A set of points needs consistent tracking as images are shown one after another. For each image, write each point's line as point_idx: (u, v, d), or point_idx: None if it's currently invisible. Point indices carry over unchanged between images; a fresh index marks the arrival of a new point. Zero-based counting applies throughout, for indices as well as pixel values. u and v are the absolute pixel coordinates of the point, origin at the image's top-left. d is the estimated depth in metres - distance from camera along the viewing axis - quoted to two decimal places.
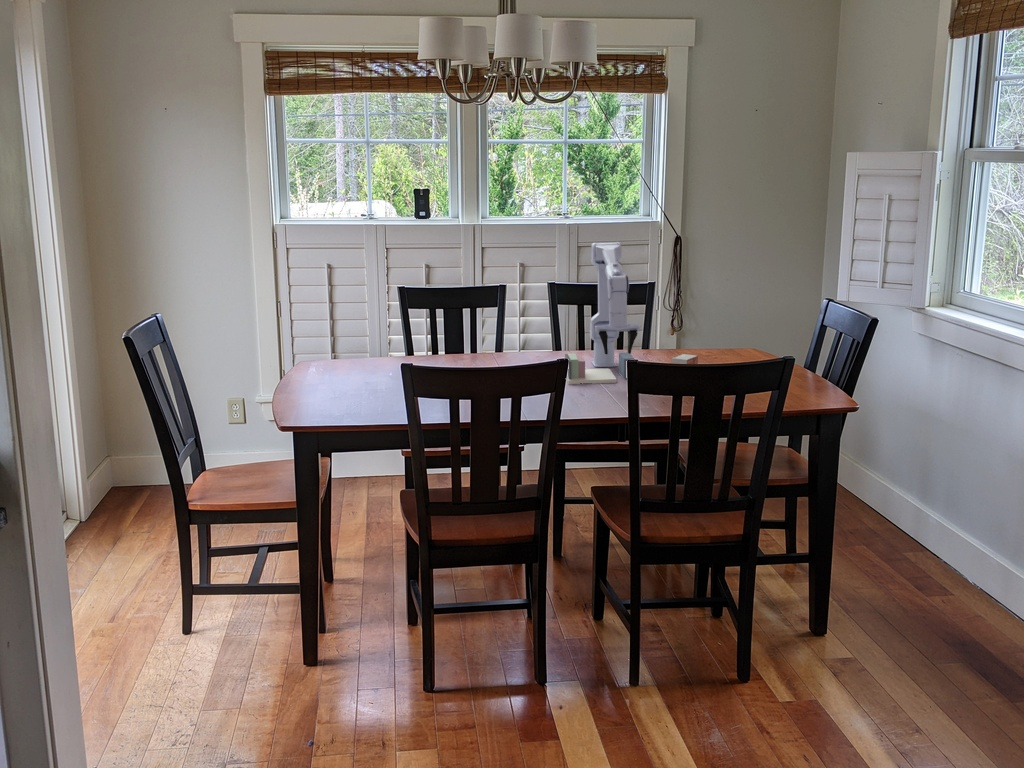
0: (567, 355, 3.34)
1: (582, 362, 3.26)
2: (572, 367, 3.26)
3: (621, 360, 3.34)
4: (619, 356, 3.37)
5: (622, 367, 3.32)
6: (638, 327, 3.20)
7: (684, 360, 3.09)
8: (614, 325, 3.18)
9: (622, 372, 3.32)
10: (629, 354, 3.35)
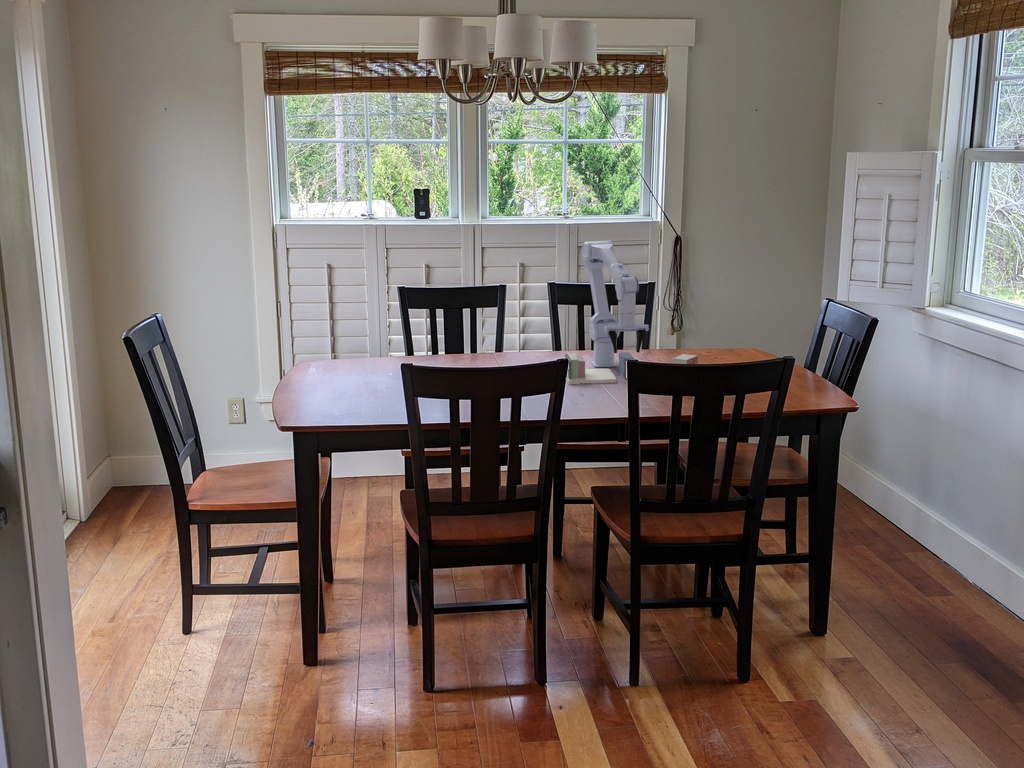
0: (567, 355, 3.34)
1: (582, 362, 3.26)
2: (572, 367, 3.26)
3: (621, 360, 3.34)
4: (619, 356, 3.37)
5: (622, 367, 3.32)
6: (646, 327, 3.31)
7: (684, 360, 3.09)
8: (623, 325, 3.29)
9: (622, 372, 3.32)
10: (629, 354, 3.35)
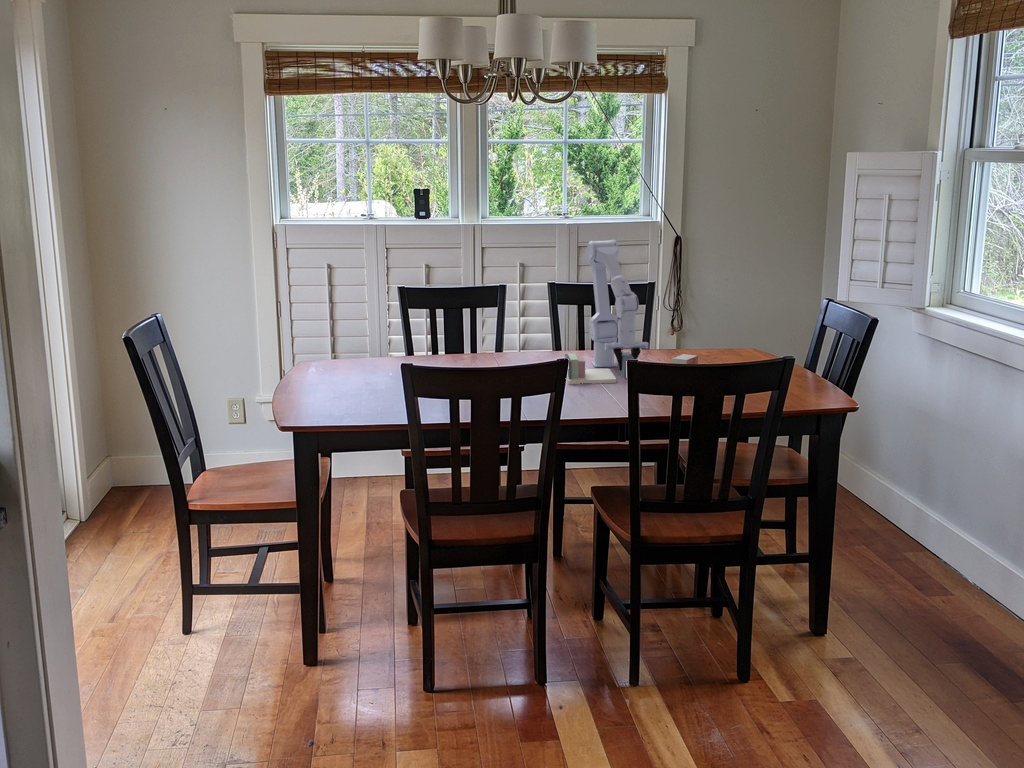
0: (567, 355, 3.34)
1: (582, 362, 3.26)
2: (572, 367, 3.26)
3: None
4: None
5: (622, 367, 3.32)
6: (646, 345, 3.32)
7: (684, 360, 3.09)
8: (623, 343, 3.30)
9: (622, 372, 3.32)
10: (629, 354, 3.35)
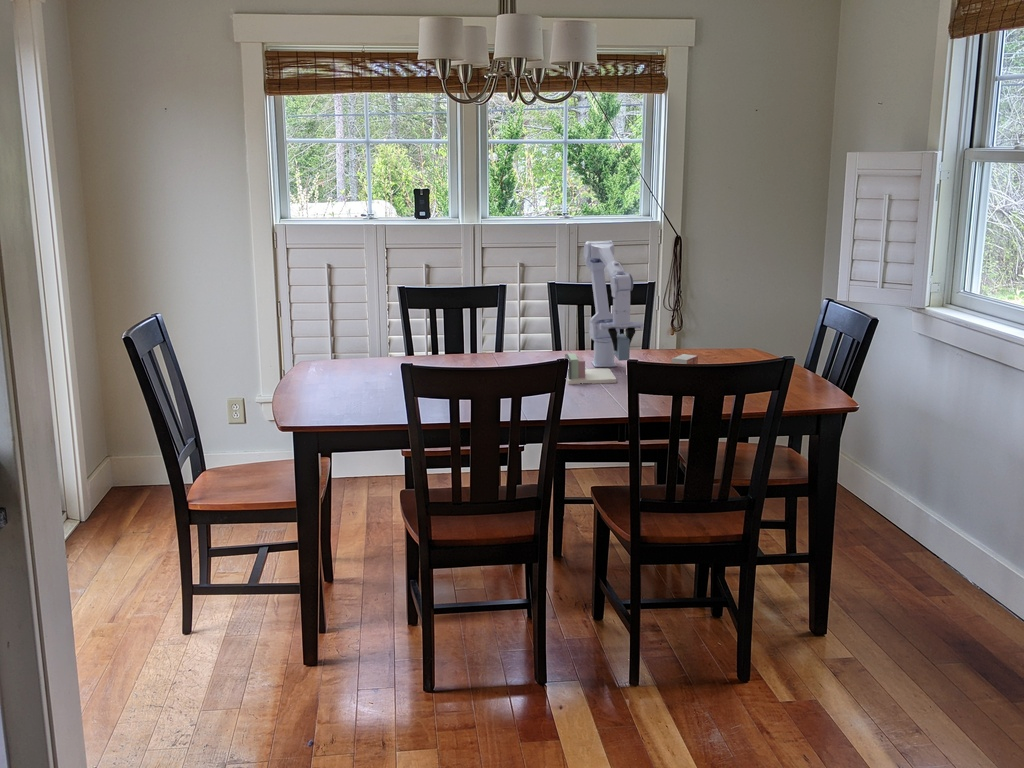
0: (567, 355, 3.34)
1: (582, 362, 3.26)
2: (572, 367, 3.26)
3: None
4: None
5: (617, 348, 3.30)
6: (641, 324, 3.30)
7: (684, 360, 3.09)
8: (618, 323, 3.28)
9: (617, 353, 3.30)
10: (624, 335, 3.33)
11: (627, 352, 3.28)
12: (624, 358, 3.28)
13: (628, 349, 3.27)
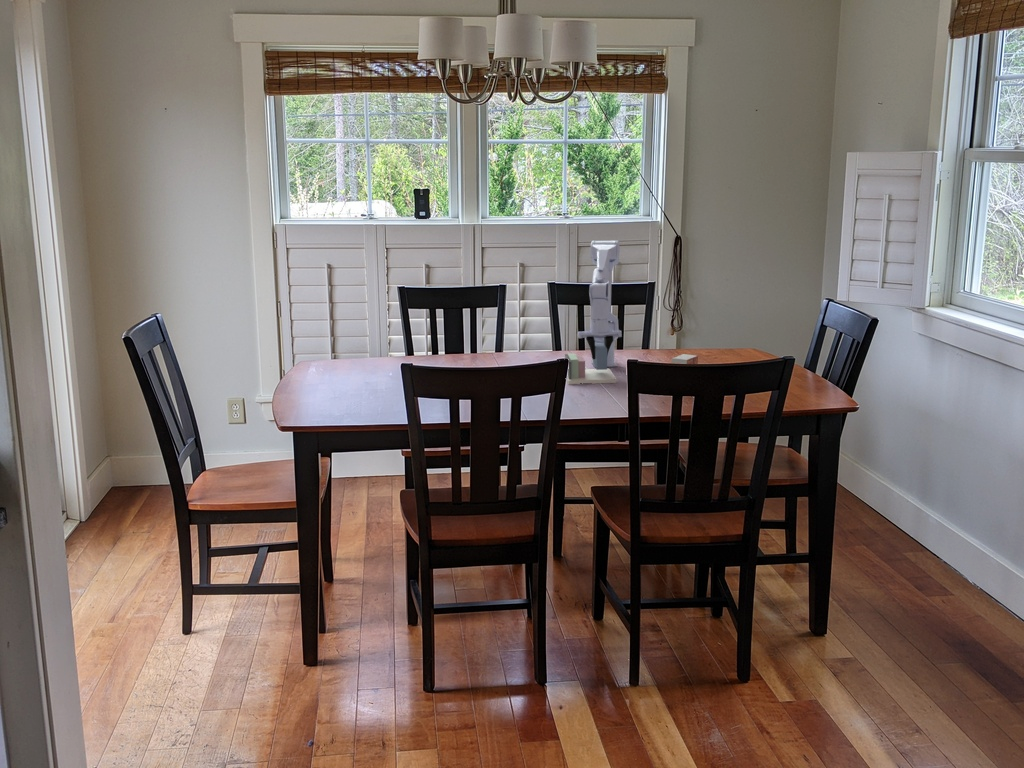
0: (567, 355, 3.34)
1: (582, 362, 3.26)
2: (572, 367, 3.26)
3: None
4: None
5: (595, 358, 3.28)
6: (619, 333, 3.28)
7: (684, 360, 3.09)
8: (596, 331, 3.26)
9: (595, 363, 3.29)
10: (602, 344, 3.31)
11: (605, 361, 3.26)
12: (602, 367, 3.26)
13: (605, 358, 3.26)
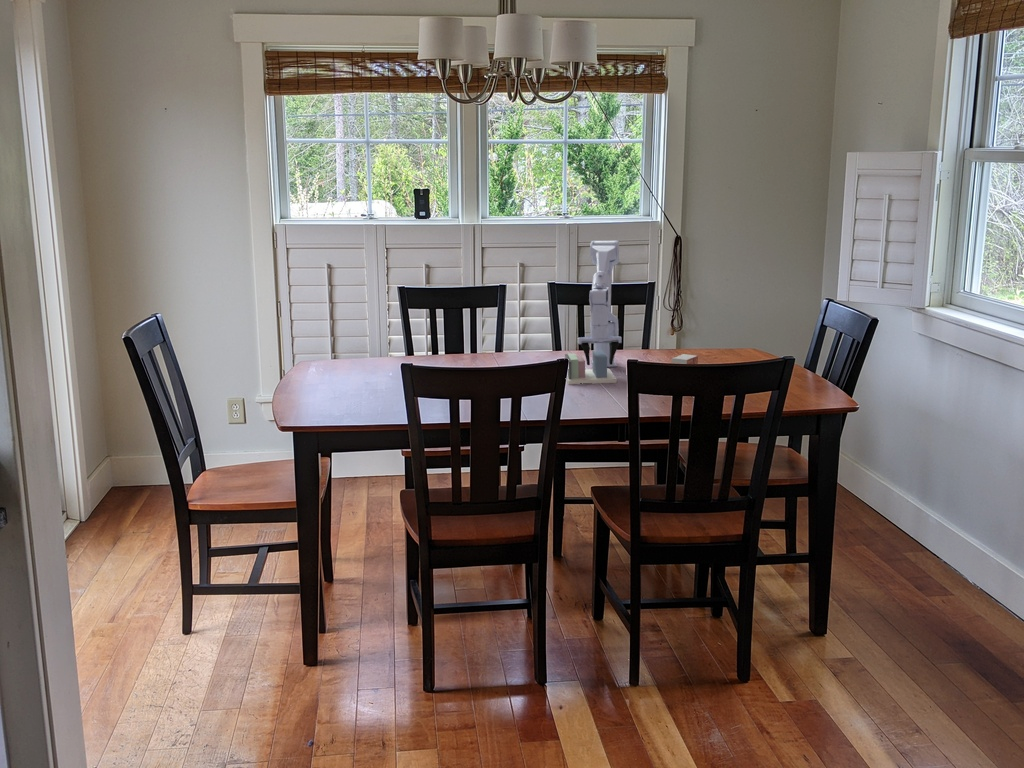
0: (567, 355, 3.34)
1: (582, 362, 3.26)
2: (572, 367, 3.26)
3: (594, 359, 3.31)
4: (592, 354, 3.34)
5: (595, 366, 3.29)
6: (619, 339, 3.29)
7: (684, 360, 3.09)
8: (596, 337, 3.27)
9: (595, 371, 3.29)
10: (602, 352, 3.32)
11: (605, 369, 3.27)
12: (602, 375, 3.27)
13: (605, 366, 3.26)
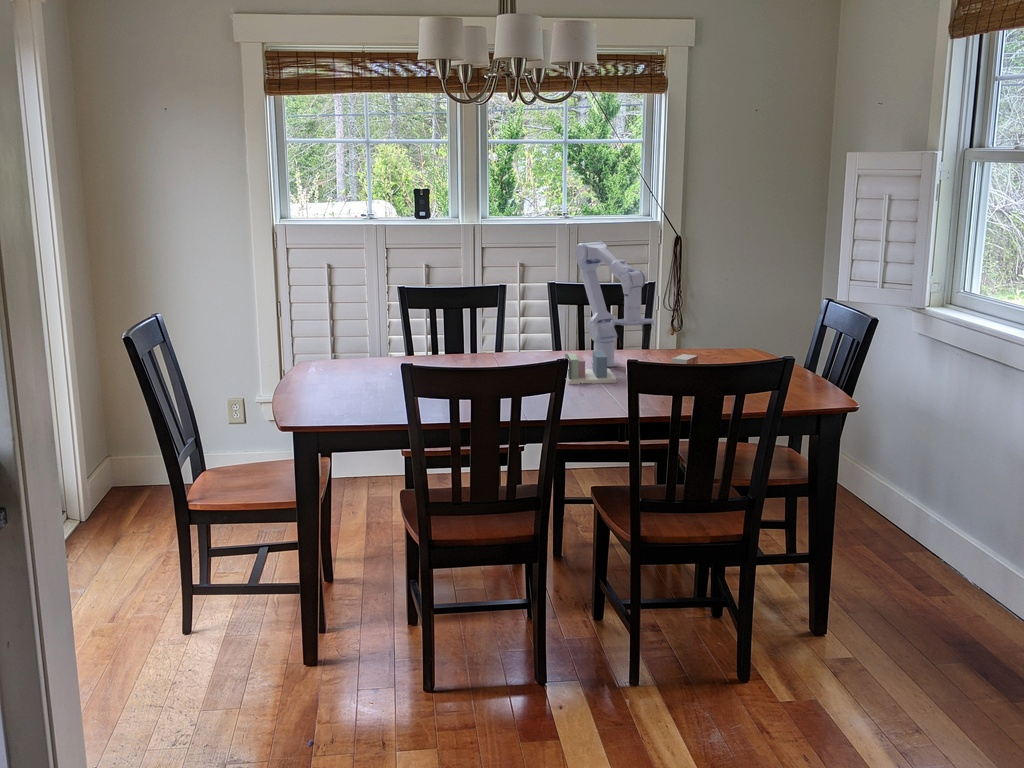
0: (567, 355, 3.34)
1: (582, 362, 3.26)
2: (572, 367, 3.26)
3: (594, 359, 3.31)
4: (592, 354, 3.34)
5: (595, 366, 3.29)
6: (652, 321, 3.33)
7: (684, 360, 3.09)
8: (629, 319, 3.31)
9: (595, 371, 3.29)
10: (602, 352, 3.32)
11: (605, 369, 3.27)
12: (602, 375, 3.27)
13: (605, 366, 3.26)
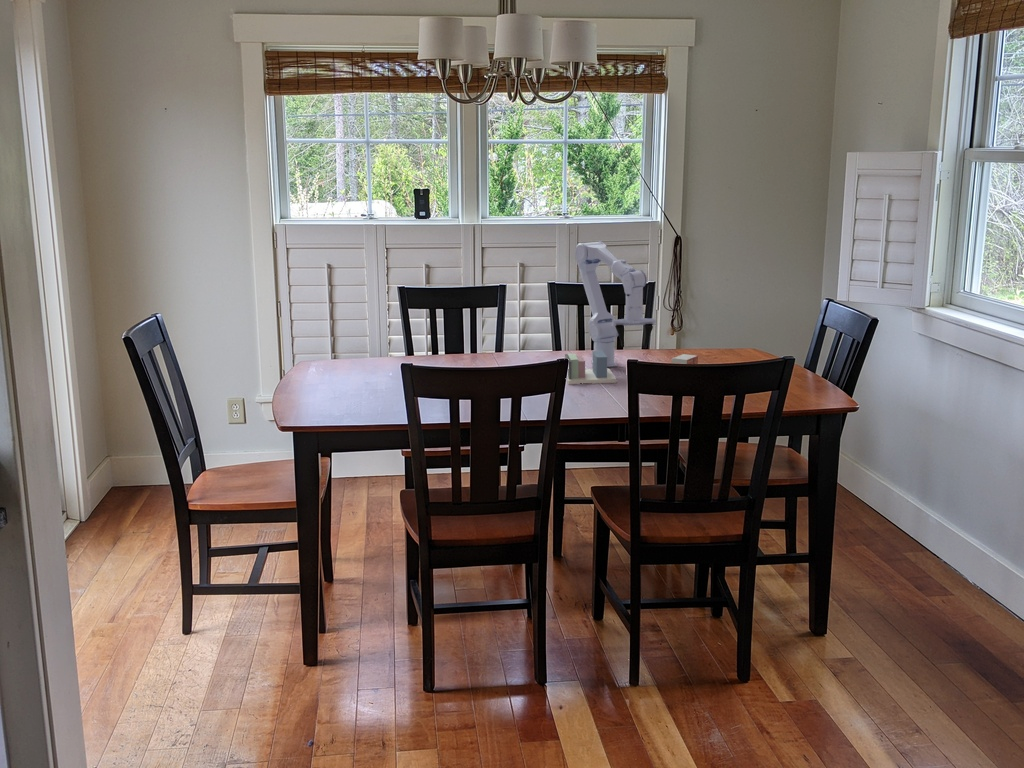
0: (567, 355, 3.34)
1: (582, 362, 3.26)
2: (572, 367, 3.26)
3: (594, 359, 3.31)
4: (592, 354, 3.34)
5: (595, 366, 3.29)
6: (653, 321, 3.33)
7: (684, 360, 3.09)
8: (630, 319, 3.31)
9: (595, 371, 3.29)
10: (602, 352, 3.32)
11: (605, 369, 3.27)
12: (602, 375, 3.27)
13: (605, 366, 3.26)
